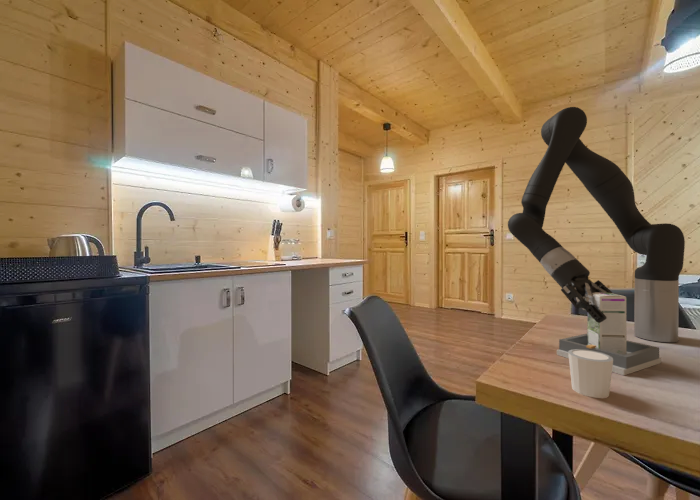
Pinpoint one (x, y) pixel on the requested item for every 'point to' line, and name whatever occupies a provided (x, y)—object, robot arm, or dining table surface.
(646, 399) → the dining table surface
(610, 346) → the syrup box
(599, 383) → the white cup
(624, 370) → the pocket plate
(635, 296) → the robot arm
